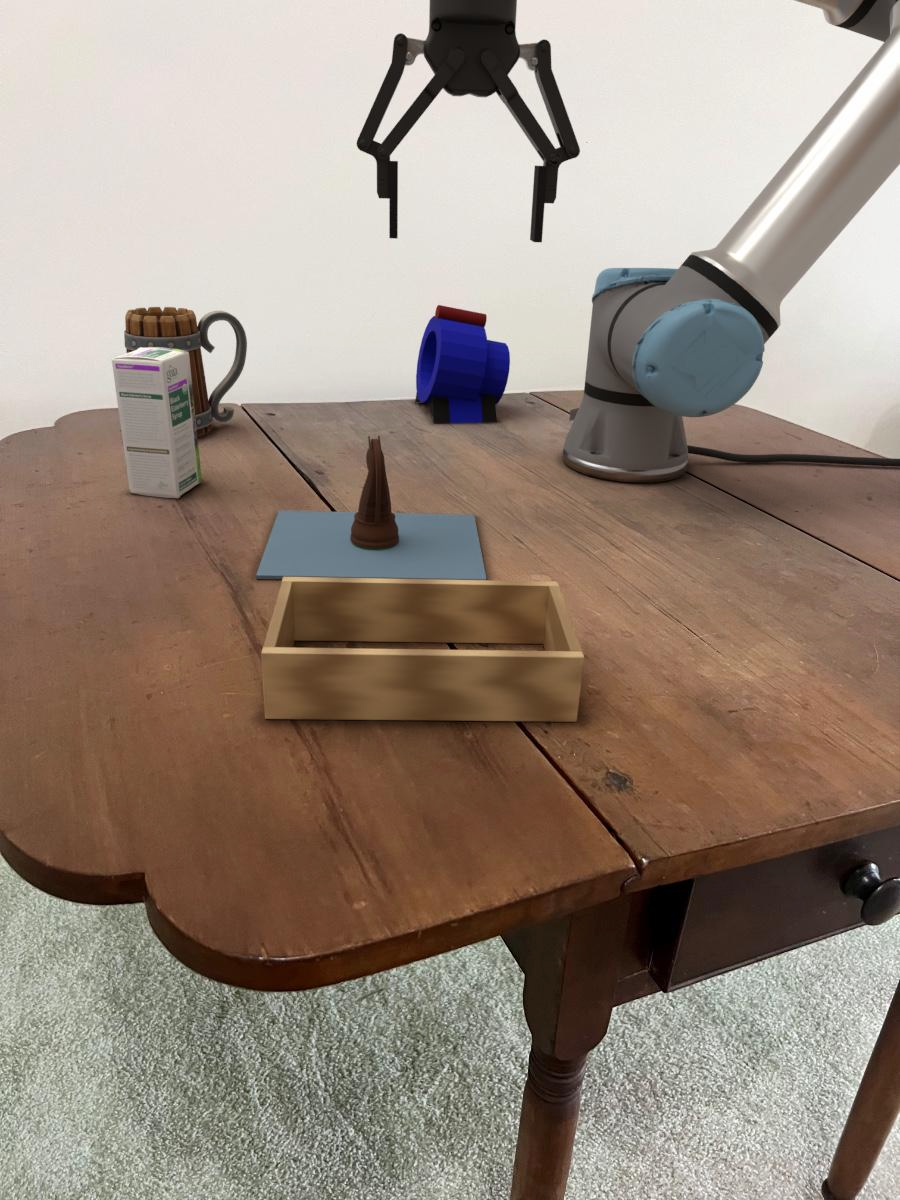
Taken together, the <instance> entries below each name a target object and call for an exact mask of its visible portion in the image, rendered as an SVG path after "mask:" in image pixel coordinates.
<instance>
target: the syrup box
mask: <svg viewBox="0 0 900 1200" xmlns="http://www.w3.org/2000/svg"><path fill="white" fill-rule="evenodd" d="M111 364H112V365H111V366H112V374H113V379H114V387H115V394H116V401H117V409H118V416H119V417H118V418H119V425H120V433H121V439H122V445H123V451H124V461H125V467H126V468H125V469H126V474H127V483H128V489H129V492H130V493H131V494H135V495H140V496H147V497H156V498H157V497H158V498H166V499H179V498H181V496H183V495H184V494H185V493H187V492H188V491H190V490H191V489H193V488H194V487H195V486H198V485H200V484H201V483H202V481H203V478H202V477H203V476H202V469H201V460H200V448H199V438H197V428H196V418H195V408H194V398H193V389H192V379H191V369H190V358H189V352H188V351H185V350H180V349H173V348H162V347H148V348H142V347H140V348H138V349H137V350H135V351H132V352H129V353H127V352H126V353H124V354H122V355H117V356H114V357H113V358H111Z"/></svg>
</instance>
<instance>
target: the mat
mask: <svg viewBox="0 0 900 1200" xmlns="http://www.w3.org/2000/svg"><path fill="white" fill-rule="evenodd" d="M357 512H358V511H325V510H324V511H323V510H322V511H321V510H319V511H318V510H283V509H282V510H280V509H279V510H278V511H277V515H276V518H275V521H274V523H273V526H272V529H271V532H270V534H269V537H268V540H267V542H266V546H265V548H264V550H263V551H264V552H263V553H262V557H261V561H260V562H259V566H258V568H257V570H256V571H257V572H256V574H255V579H256V580H278V581H279V580H281V581H282V579H283V577H328V578H384V579H439V580H488V579H487V575H486V569H485V564H484V559H483V554H482V548H481V543H480V537H479V533H478V527H477V521H476V517H475V514H459V513H458V514H455V513H418V512H417V513H416V512H415V513H413V512H392V513H393V514H394V515H395V522H396V524H397V526H398V535H399V542H398V543H397V544H396V545H395V546H394V547H391V548H388V549H383V550H367V549H362V548H359V547H356V546H355V545H353V544H352V542H351V540H350V535H351V527H352V524H353V522H354V520H355V518H354V515H355V514H356V513H357Z"/></svg>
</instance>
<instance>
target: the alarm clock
mask: <svg viewBox="0 0 900 1200" xmlns="http://www.w3.org/2000/svg"><path fill="white" fill-rule="evenodd" d="M487 318H488V317H487V314H486V313H482V312H477V311H472V310H467V309H461V308H458V307H457V308H456V307H451V306H447V305H441V304H438V305H437V306H436V308H435V313H434V315H433V316H432V317H430V319H429V320H428V323H427V325H426V327H425V329H424V331H423V334H422V338H421V341H420V342H421V343H420V346H419V351H418V356H417V362H416V375H415V389H416V395H415V403H424V404H428V408H429V410H430V414H431V418H432V422H433V424H434V425H436V424H437V425H438V424H439V425H440V424H441V425H442V424H475V423H476V424H478V423H498V416H497V404H499V402H500V401H501V400H502V398H503V395H504V393H505V391H506V388H507V384H508V382H509V381H508V379H509V375H510V365H511V355H510V349H509V345H508V344H507V343H506V342H502V341H496V340H491V339H488V337H487V332H486V324H487Z"/></svg>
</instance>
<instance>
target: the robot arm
mask: <svg viewBox="0 0 900 1200" xmlns="http://www.w3.org/2000/svg"><path fill="white" fill-rule="evenodd" d="M793 1H795V2H798V3H801V4H804V5H807V6H811V7H815V8H817V9H821V10H822V13H823V16H824V20H825V22H826V23H827V24H829V25H831V26H834V27H837V28H840V29H841V28H842V29H844V30H847V31H851V32H854V33H856V34H859V35H862V36H866V37H868V38H871V39H874V40H877V41H880V42H883V44H881V46H880V47H879V48H878V49H877V50H876V52H875V53H874V54H873V56H872V57H870V59H869V61H867V63H866V64H865V65H864V66H863V68H862V69H861V70H860V71H859V73H858V74H857V75H856V76H855V77H854V79H853V80H852V81H851V82H850V83H849V85H848V86H847V87H846V88H845V89H844V91H843V92H842V93H841V95H840V96H838V98H837V100H835V102H834V103H833V104H832V105H831V107H830V108H829V109H828V110H827V111H826V113H824V115H823V116H822V118H821V119H820V120H819V121H818V122H817V123H816V125H814V127H813V128H812V130H811V131H810V132H809V133H808V134H807V136H805V138H804V139H803V140H802V141H801V143H799V145H798V147H797V148H796V149H795V150H794V152H793V153H792V154H791V155H790V156H789V158H788V159H787V160H785V162H784V164H783V165H782V166H781V167H780V168H779V170H778V171H777V172H776V173H775V175H773V177H772V178H771V179H770V181H768V183H767V184H766V185H765V187H764V188H763V189H762V190H761V192H760V193H759V194H758V195H757V196H756V197H755V199H754V200H753V201H752V203H750V205H749V206H748V207H747V209H746V210H745V211H744V212H743V213H742V215H741V216H740V217H739V218H738V219H737V221H736V222H735V223H734V224H733V226H732V227H731V228H730V229H729V230H728V232H726V234H725V235H724V237H723V238H722V239H721V240H720V241H719V243H718V244H717V245H716V246H715V247H712V248H711V249H706V250H699V251H692V252H691V253H690V254H689V255H688V256H687V258H686V259H685V260H684V261H683V263H681V265H680V266H679V267H678V268H671V267H670V268H669V267H609V268H605V269H603V270H602V271H600V272H599V274H598V275H597V277H596V279H595V286H594V292H593V294H592V296H591V303H592V309H591V317H590V329H589V337H588V338H589V339H588V348H587V356H586V357H587V358H586V368H585V377H584V378H585V379H584V389H583V396H582V400H581V402H580V405H579V407H577V408H573V409H570V410H569V419H568V422H571V421H572V423H571V425H570V427H569V430H568V433H567V435H566V437H565V439H564V443H563V446H562V457H561V458H562V459H561V460H562V461H563V463H564V464H565V465H566V466H567V467H569V468H570V469H572V470H574V471H576V472H579V473H581V474H585V475H587V476H591V477H595V478H599V479H603V480H610V481H615V482H616V481H617V482H625V483H626V482H627V483H658V482H665V481H670V480H671V481H672V480H674V479H678V478H679V477H681V476H683V475H685V474H686V472H687V469H688V465H689V455H691V454H692V455H696V456H702V457H709V458H715V459H718V460H724V461H728V462H733V463H734V462H736V463H747V464H748V463H753V464H757V463H812V464H814V463H815V464H831V465H832V464H833V465H849V466H851V465H852V466H874V467H900V458H892V457H891V458H890V457H889V458H887V457H864V456H862V457H861V456H841V455H825V454H805V453H771V454H769V453H768V454H741V453H732V452H728V451H722V450H718V449H713V448H707V447H701V446H695V445H689V444H688V442H687V436H686V431H685V425H684V419H683V417H686V418H702V417H709V416H713V415H716V414H718V413H721V412H723V411H725V410H727V409H729V408H731V407H732V406H734V405H735V404H737V403H738V402H739V401H740V400H741V399H743V397H745V396H746V395H747V394H748V393H749V392H750V390H751V389H752V387H753V386H754V384H755V383H756V381H757V379H758V378H759V376H760V374H761V371H762V369H763V368H762V367H763V365H764V360H763V357H764V352H765V344H766V343H767V342H768V341H769V340H770V338H771V337H772V336H773V335H774V334H775V333H776V331H777V330H778V329H779V327H781V304H782V301H783V300H784V299H785V298H786V297H787V296H788V295H789V293H790V292H791V291H792V290H793V288H794V287H795V286H796V285H797V284H798V283H799V282H800V280H802V278H803V277H804V276H805V275H806V273H808V271H809V270H810V269H811V268H812V267H813V265H814V264H815V263H816V262H817V261H818V260H819V259H820V257H821V256H822V255H823V254H824V253H825V251H826V250H827V249H828V248H829V247H830V246H831V244H833V242H834V241H835V240H836V239H837V238H838V237H839V235H840V234H841V233H842V232H843V231H844V229H845V228H846V227H847V226H848V225H849V224H850V223H851V221H852V220H853V219H854V218H855V217H856V216H857V214H858V213H860V211H861V210H862V209H863V207H864V206H865V205H866V204H867V203H868V202H869V201H870V200H871V198H872V197H873V196H874V195H875V194H876V192H877V191H878V190H879V189H880V188H881V187H882V185H884V183H885V182H886V181H887V180H888V179H889V177H891V175H892V174H893V173H894V172H895V170H896V169H897V168H898V167H899V166H900V0H793ZM517 6H518V0H429V10H428V11H429V13H428V16H429V19H428V34H427V36H426V38H425V40H424V39H418V38H414V37H407V36H406V35H405V34H404V33H397V34H395V36H394V39H393V44H392V45H393V46H392V53H391V63H390V65H389V67H388V70H387V72H386V74H385V77H384V78H383V81H382V83H381V86H380V87H379V90H378V93H377V95H376V97H375V99H374V101H373V104H372V105H371V108H370V111H369V113H368V115H367V118H366V119H365V122H364V124H363V126H362V129H361V130H360V133H359V135H358V137H357V140H356V147H357V149H358V150H359V151H360V152H362V153H365V154H368V155H370V156H371V157H373V158H374V160H375V162H376V194H377V196H378V199H387V200H388V199H389V202H388V203H389V205H388V206H389V212H388V213H389V215H388V216H389V235H388V236H389V239H398V238H399V237H398V235H399V234H398V228H399V227H398V225H399V223H398V221H399V220H398V217H399V216H398V215H399V214H398V209H399V208H398V207H399V205H398V204H399V203H398V201H399V200H398V199H399V196H398V195H399V161H398V160H391V156H392V154H393V152H394V151H395V150H396V148H397V147H398V146H399V145H400V144H401V142H402V141H403V140H404V139H405V137H406V136H407V135H408V133H409V132H410V131H411V130H412V128H413V127H414V126H415V124H416V123H417V122H418V121H419V119H421V117H422V116H423V114H424V113H425V112H426V111H427V109H429V107H430V105H431V104H432V103H433V102H434V101H435V99H436V98H437V96H438V95H439V94H440V93H441V91H442V90H443V91H444V92H446V93H447V94H448V95H449V96H451V97H463V96H464V97H465V96H468V95H469V96H470V95H471V96H474V97H476V98H488V97H490V96H492V95H494V94H496V95H497V96H498V97H499V99H500V100H501V102H502V104H504V105H505V107H506V108H507V111H509V113H510V114H511V116H512V117H513V119H514V121H516V123H517V125H518V126H519V128H520V129H521V131H522V132H523V134H524V135H525V136H526V138H527V139H528V141H529V142H530V144H531V146H532V147H533V149H534V150H535V151H536V153H537V154H538V156H539V157H540V159H541V160H542V161H543V162H542V165H534V172H533V186H532V202H531V217H530V218H531V219H530V234H529V241H532V242H533V243H542V242H543V234H544V233H543V232H544V231H543V230H544V218H545V217H544V216H545V204H554V203H555V201H556V199H557V193H558V191H557V190H558V179H559V168H560V165H561V164H563V163H564V162H567V161H569V160H573V159H576V158H578V157H579V155H580V154H581V150H580V145H579V143H578V140H577V137H576V134H575V131H574V128H573V125H572V122H571V120H570V117H569V114H568V111H567V108H566V106H565V103H564V100H563V98H562V94H561V92H560V88H559V86H558V83H557V80H556V78H555V75H554V72H553V69H552V47H551V46H552V45H551V43H550V41H549V40H547V39H541V40H539V41H538V42H530V43H519V41H518V38H517V34H516V24H517V9H518V8H517ZM420 55H423V57H424V59H425V60H426V63H427V64H428V66H429V67H430V69H431V71H432V72H433V77H432V78H431V79H430V80H429V82H428V83H426V86H425V87H424V88H423V89H422V90H421V92H420V93H419V95H418V96H417V97H416V98H415V99H414V101H413V102H412V104H411V105H410V106H409V107H408V108H407V109H406V111H405V113H403V114H402V117H400V119H399V120H398V121H397V123H396V124H395V125H394V126H393V128H391V131H390V132H389V133H388V135H386V137H385V138H384V139H383V141H382V142H381V143H380V142H378V141H376V140H374V139H375V138H376V135H377V132H378V130H379V128H380V126H381V124H382V122H383V119H384V117H385V115H386V112H387V110H388V108H389V106H390V103H391V101H392V99H393V97H394V96H395V95H394V94H395V92H396V90H397V89H398V86H399V84H400V81H401V79H402V77H403V74H404V71H405V67H411V66H412V65H414V63H415V61H416V59H417V57H418V56H420ZM519 59H520V60H523V62H524V63H525V66H526V68H527V69H528V71H531V72H534V79H535V81H536V84H537V87H538V90H539V92H540V96H541V98H542V100H543V103H544V105H545V109H546V111H547V115H548V117H549V119H550V122H551V125H552V128H553V131H554V133H555V136H556V139H557V142H558V144H559V147H555V146H554V144H553V143H552V140H550V138H549V137H548V135H547V134H546V132H545V131H544V129H543V127H542V126H541V125H540V123H539V122H538V120H537V119H536V117H535V115H534V114H533V113H532V111H531V110H530V108H529V107H528V105H527V103H526V102H525V101H524V99H523V97H522V96H521V95H520V93H519V90H518V89H517V87H516V86H515V84H514V83H513V81H512V79H511V78H510V77H509V74H510V72H511V71H512V70H513V68H514V67H515V65H516V64H517V63H518V61H519Z"/></svg>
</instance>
